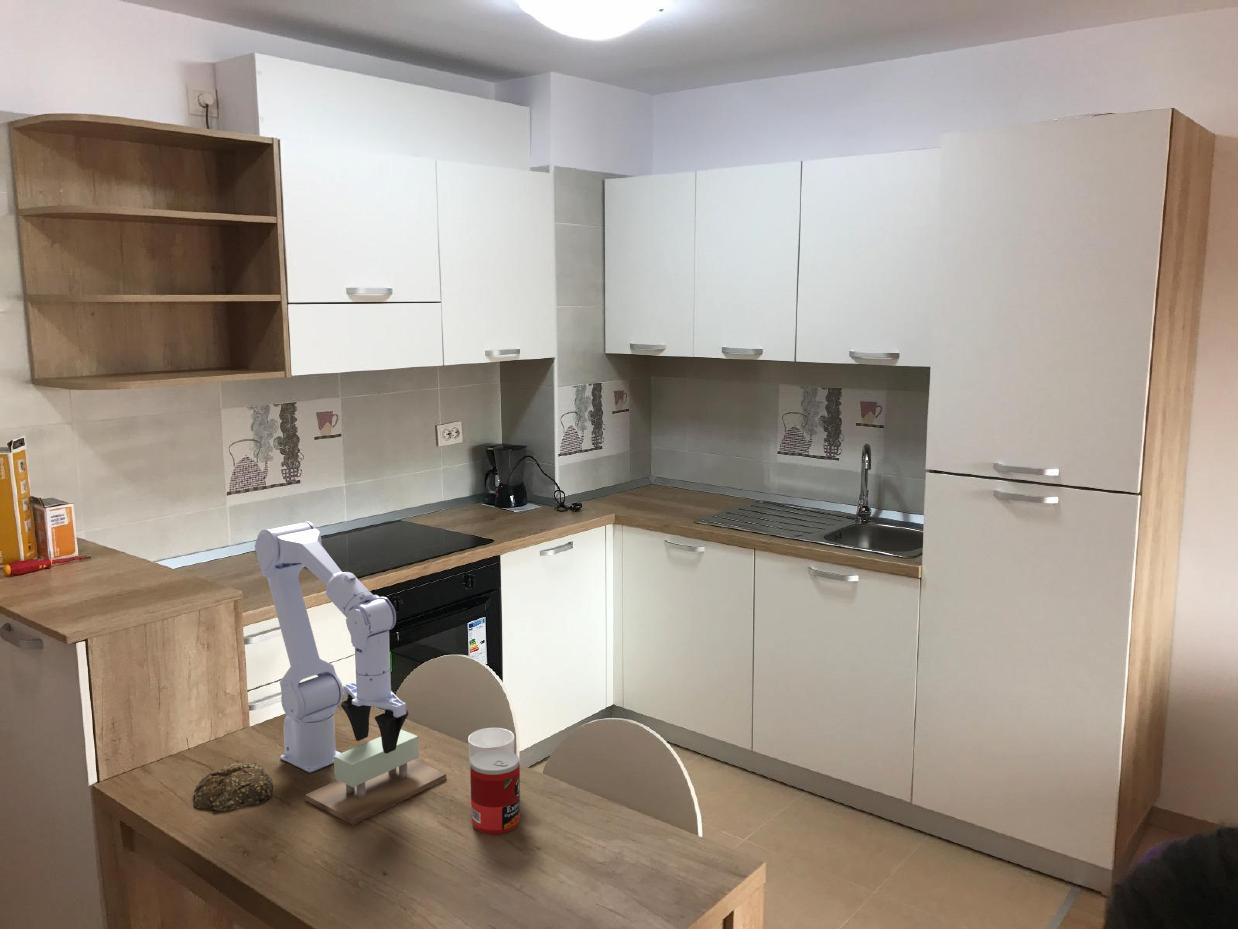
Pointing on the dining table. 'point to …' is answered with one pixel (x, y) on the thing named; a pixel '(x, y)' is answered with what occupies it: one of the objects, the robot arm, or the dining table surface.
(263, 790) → the bread roll
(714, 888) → the dining table surface
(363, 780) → the pale green rectangular block
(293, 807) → the dining table surface
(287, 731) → the robot arm
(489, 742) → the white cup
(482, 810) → the canned food
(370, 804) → the peg base
